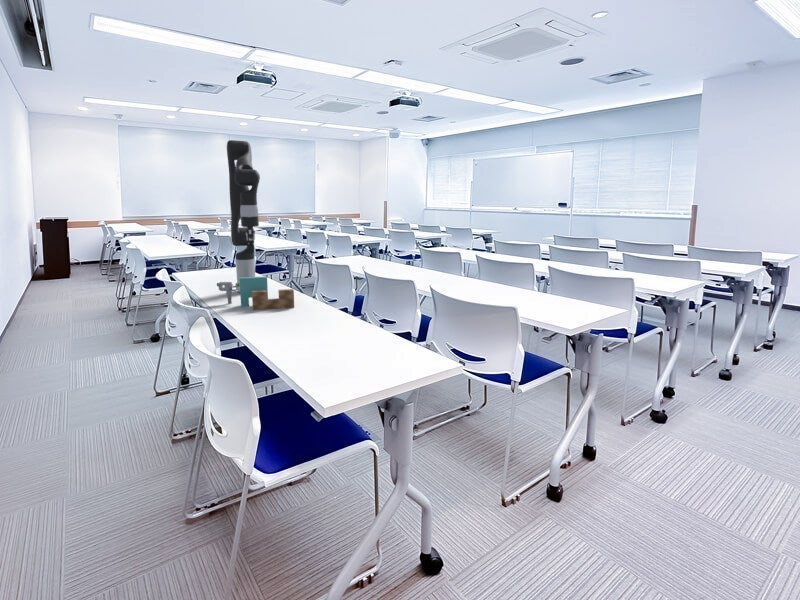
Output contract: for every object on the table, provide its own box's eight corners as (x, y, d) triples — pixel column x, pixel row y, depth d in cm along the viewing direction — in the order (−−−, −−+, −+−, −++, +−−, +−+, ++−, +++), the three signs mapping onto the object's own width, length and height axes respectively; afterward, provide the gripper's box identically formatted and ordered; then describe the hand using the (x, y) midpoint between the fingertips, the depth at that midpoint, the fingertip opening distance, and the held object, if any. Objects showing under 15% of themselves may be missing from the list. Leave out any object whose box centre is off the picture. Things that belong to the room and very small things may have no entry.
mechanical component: (239, 304, 220) (238, 283, 218) (217, 304, 221) (216, 282, 218) (241, 303, 223) (240, 282, 221) (220, 302, 224) (218, 281, 221)
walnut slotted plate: (253, 309, 211) (252, 292, 209) (252, 308, 213) (251, 290, 212) (294, 307, 216) (293, 290, 215) (293, 306, 219) (293, 289, 217)
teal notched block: (241, 306, 217) (239, 278, 214) (241, 305, 219) (239, 277, 217) (268, 305, 220) (267, 277, 217) (268, 303, 223) (266, 276, 220)
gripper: (241, 215, 217) (243, 250, 221) (240, 216, 204) (242, 253, 207) (258, 215, 219) (260, 250, 223) (258, 216, 206) (260, 253, 209)
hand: (251, 252), depth 215 cm, fingers open, 8 cm apart
